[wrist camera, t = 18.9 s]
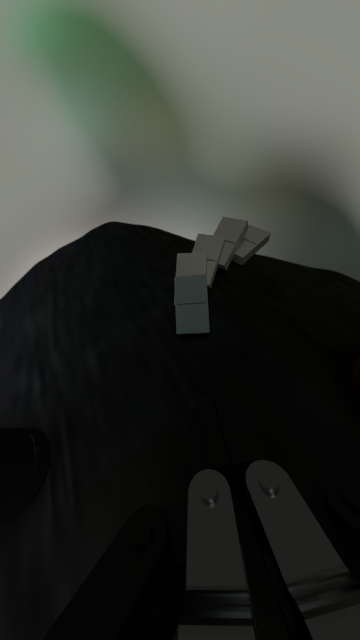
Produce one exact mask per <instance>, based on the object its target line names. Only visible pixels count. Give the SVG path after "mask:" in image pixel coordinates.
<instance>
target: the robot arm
mask: <svg viewBox="0 0 360 640" xmlns="http://www.w3.org/2000/svg"><path fill="white" fill-rule="evenodd" d="M212 396H213V400H212ZM212 396H205V397H200V398H198V400H199V407H200V408H199V409H194V410H190V413H189V415H188V417H187V428H188V447H189V467H190V477H189V482H188V485H187V487H186V489H185V491H184V492H183V493H182V495H181V496H180V497H179V498H178V499H176V500H175V501H174V502H172V503H170V504H169V505H167V506H165V507H164V508H162V509H161V510H160V508H158V507H157V506H155V505H151V504H149V505H144V506H142V507H140V508H138V509H137V510H136V511H135V512H134V513H133V514H132V515H131V516H130V517H129V519H128V520H127V521H126V523H125V524H124V526H123V527H122V529H121V530H120V531H119V533H118V534H117V536H116V537H115V538H114V540H113V541H112V543H111V544H110V545H109V547H108V548H107V550H106V551H105V552H104V554H103V555H102V557H101V558H100V560H99V561H98V562H97V564H96V565H95V567H94V568H93V569H92V571H91V572H90V574H89V575H88V576H87V578H86V579H85V581H84V582H83V584H82V585H81V586H80V588H79V589H78V591H77V592H76V593H75V595H74V596H73V598H72V599H71V600H70V602H69V603H68V605H67V606H66V608H65V609H64V610H63V612H62V613H61V615H60V616H59V617H58V619H57V620H56V622H55V623H54V624H53V626H52V627H51V629H50V630H49V632H48V633H47V634H46V636H45V637H44V639H43V640H172V639H173V636H174V634H175V631H176V628H177V626H178V623H179V630H178V640H259V637H258V632H257V626H256V621H255V615H254V610H253V604H252V599H251V593H250V588H249V582H248V577H247V571H246V566H245V560H244V555H243V549H242V544H241V539H240V534H239V530H238V525H237V520H236V515H235V513H237V512H239V507H238V502H237V498H238V501H239V505H240V509H241V512H245V511H247V512H248V515H249V519H250V522H251V526H252V529H253V533H254V535H255V538H256V540H257V543H258V547H259V549H260V552H261V555H262V558H263V561H264V564H265V567H266V570H267V573H268V575H269V578H270V581H271V584H272V587H273V590H274V593H275V596H276V598H277V601H278V604H279V607H280V610H281V613H282V616H283V619H284V622H285V624H286V627H287V630H288V633H289V636H290V639H291V640H360V478H358V477H356V476H353V475H351V474H347V473H342V472H335V473H331V474H329V475H328V476H327V477H326V478H325V480H324V484H321V483H316V482H311V481H305V480H301V479H297V478H295V477H292V476H291V475H289V474H287V473H286V472H285V471H284V470H283V469H282V468H281V467H280V466H278V465H277V464H276V463H275V462H274V460H273V459H272V457H271V455H270V453H269V451H268V449H267V447H266V445H265V443H264V441H263V439H262V437H261V435H260V434H259V432H258V430H257V428H256V426H255V424H254V422H253V420H252V418H251V416H250V414H249V412H248V410H247V408H246V407H245V406H244V405H242V404H241V403H240V402H239V401H236V402H231V403H230V402H229V399H228V397H227V394H226V393H221V394H216V395H212ZM213 401H214V404H213ZM214 406H215V407H214ZM48 464H49V445H48V441H47V439H46V437H45V435H44V434H43V433H42V432H41V431H40V430H38V429H36V428H0V525H2V524H4V523H6V522H8V521H10V520H11V519H13V518H14V517H16V516H17V515H19V514H20V513H21V512H22V511H23V510H24V509H25V508H26V507H27V506H28V505H29V504H30V502H31V501H32V500H33V499H34V497H35V496H36V494H37V492H38V491H39V489H40V487H41V485H42V483H43V480H44V478H45V475H46V472H47V469H48ZM234 486H235V487H234ZM235 490H236V492H235ZM236 494H237V497H236Z"/></svg>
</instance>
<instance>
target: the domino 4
mask: <svg viewBox="0 0 360 640" xmlns="http://www.w3.org/2000/svg"><path fill="white" fill-rule="evenodd" d="M247 230H248V221H245V220H239V219H233V218H227V217H223V218H222V220H221V221H220V223H219V225H218V227H217V229H216V232H215V233H214V235H213V236H220V237H225V246H224V249H223V252H222V255H221V258H220V262H219V265H218V268H221V269H224V270H227V268H228V266H229V264H230V262H231V260H232V258H233V256H234V255H235V253H236V251H237V249H238V247H239V245H240V243H241V241H242V239H243V237H244V235H245V234H246V232H247Z"/></svg>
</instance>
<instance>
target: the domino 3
mask: <svg viewBox="0 0 360 640" xmlns="http://www.w3.org/2000/svg"><path fill="white" fill-rule="evenodd" d="M224 246H225V237H220V236H212V235H205V234H198V236H197V239H196V242H195V245H194V248H193V251H192V253H205V252H206V253H207V269H206V278H207V288H210V289H211V287H212V283H213V280H214V277H215V274H216V271H217V268H218V265H219V262H220V258H221V255H222V252H223V249H224Z"/></svg>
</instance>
